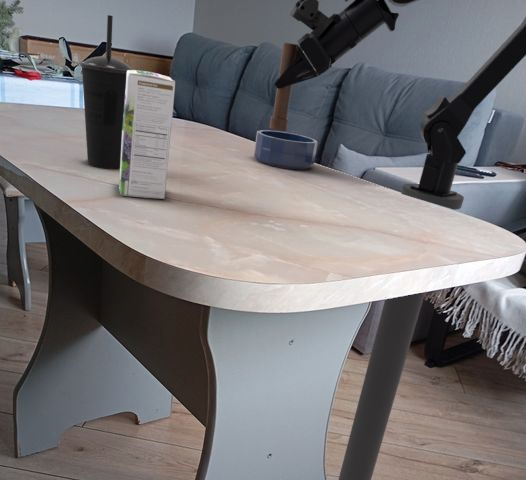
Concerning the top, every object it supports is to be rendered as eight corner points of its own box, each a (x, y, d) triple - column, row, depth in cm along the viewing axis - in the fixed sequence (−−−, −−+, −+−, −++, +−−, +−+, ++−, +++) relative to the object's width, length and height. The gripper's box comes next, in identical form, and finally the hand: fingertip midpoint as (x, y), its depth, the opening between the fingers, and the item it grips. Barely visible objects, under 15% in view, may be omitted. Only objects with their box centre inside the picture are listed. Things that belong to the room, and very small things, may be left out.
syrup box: (118, 185, 83) (123, 67, 76) (162, 189, 84) (171, 74, 78) (119, 196, 78) (125, 71, 71) (166, 200, 79) (176, 79, 73)
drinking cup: (140, 167, 95) (149, 22, 86) (109, 173, 88) (115, 16, 79) (100, 157, 97) (104, 14, 88) (67, 161, 91) (68, 8, 82)
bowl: (279, 156, 125) (283, 130, 123) (324, 169, 119) (329, 142, 117) (241, 157, 117) (244, 130, 115) (287, 171, 111) (292, 143, 108)
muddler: (283, 128, 113) (295, 44, 107) (289, 131, 110) (303, 45, 104) (266, 126, 112) (279, 41, 106) (273, 130, 109) (286, 42, 103)
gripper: (326, -13, 109) (256, 45, 114) (322, -26, 92) (240, 43, 97) (361, 43, 112) (291, 98, 117) (363, 41, 95) (281, 104, 101)
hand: (276, 86), depth 108 cm, fingers closed on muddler, 2 cm apart
